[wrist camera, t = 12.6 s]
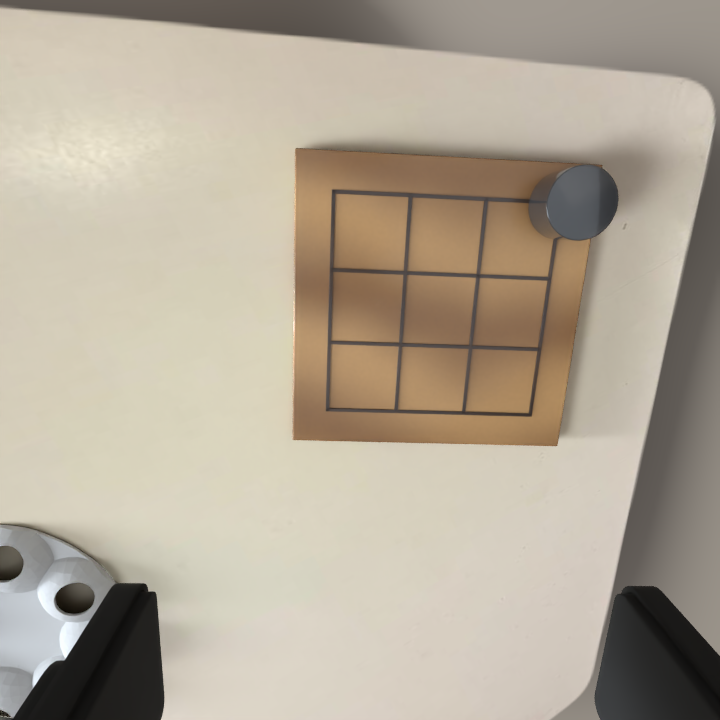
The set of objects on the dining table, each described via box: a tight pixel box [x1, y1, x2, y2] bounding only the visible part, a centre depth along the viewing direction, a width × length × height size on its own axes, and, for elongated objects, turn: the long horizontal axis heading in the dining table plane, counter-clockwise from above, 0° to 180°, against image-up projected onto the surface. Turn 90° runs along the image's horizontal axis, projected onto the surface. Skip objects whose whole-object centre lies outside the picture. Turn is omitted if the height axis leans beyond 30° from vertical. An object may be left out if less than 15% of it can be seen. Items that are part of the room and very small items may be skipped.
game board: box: [293, 148, 602, 446], centre depth 34 cm, size 20×20×1 cm
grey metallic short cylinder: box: [528, 164, 618, 241], centre depth 31 cm, size 4×4×3 cm
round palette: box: [0, 525, 116, 720], centre depth 39 cm, size 20×20×2 cm
